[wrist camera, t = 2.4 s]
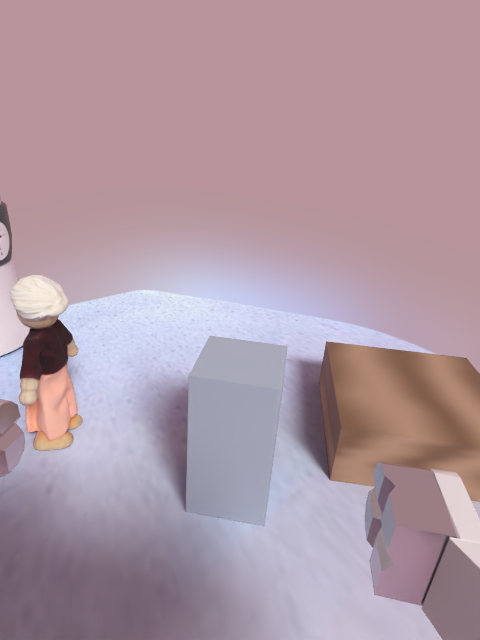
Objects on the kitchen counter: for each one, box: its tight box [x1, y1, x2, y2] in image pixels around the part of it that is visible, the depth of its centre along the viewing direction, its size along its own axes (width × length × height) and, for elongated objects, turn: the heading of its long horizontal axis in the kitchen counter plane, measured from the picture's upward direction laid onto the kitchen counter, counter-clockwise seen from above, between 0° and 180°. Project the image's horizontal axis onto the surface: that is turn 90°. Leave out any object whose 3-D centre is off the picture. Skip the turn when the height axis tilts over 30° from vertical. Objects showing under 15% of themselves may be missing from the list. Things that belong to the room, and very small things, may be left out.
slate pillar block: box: [186, 336, 287, 526], centre depth 25 cm, size 5×5×10 cm
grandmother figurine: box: [10, 275, 82, 451], centre depth 28 cm, size 8×4×13 cm, turn 11°
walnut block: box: [319, 342, 480, 502], centre depth 33 cm, size 13×13×5 cm
